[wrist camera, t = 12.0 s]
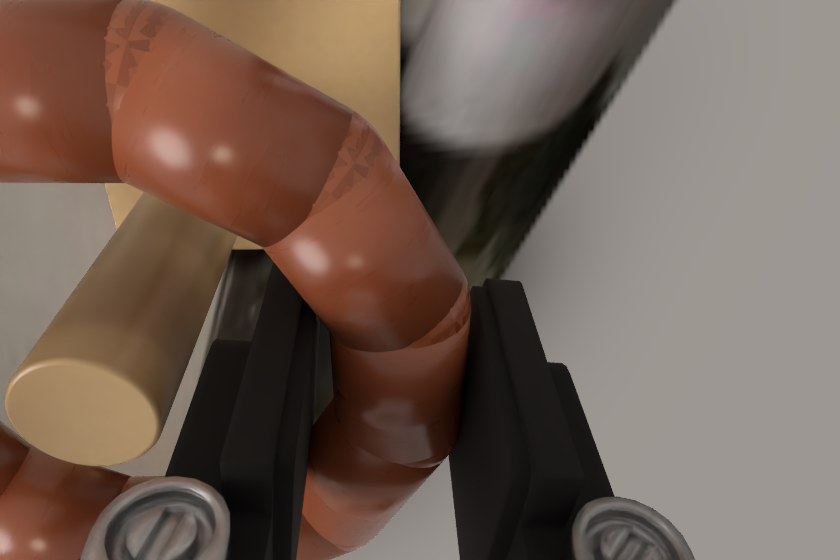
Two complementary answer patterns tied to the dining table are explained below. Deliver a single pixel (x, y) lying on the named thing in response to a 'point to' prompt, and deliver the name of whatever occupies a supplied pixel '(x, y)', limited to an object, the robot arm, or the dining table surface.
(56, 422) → the wooden peg stand
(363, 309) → the ring
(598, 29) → the dining table surface
